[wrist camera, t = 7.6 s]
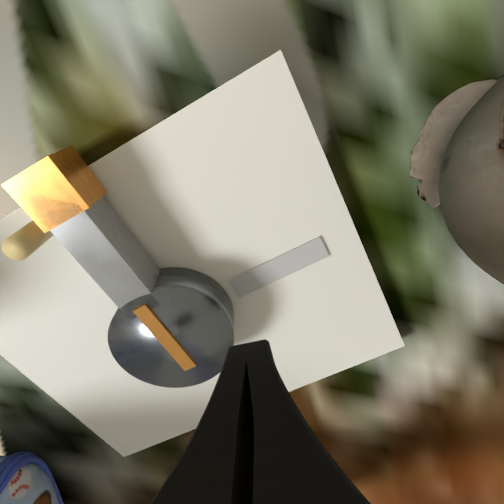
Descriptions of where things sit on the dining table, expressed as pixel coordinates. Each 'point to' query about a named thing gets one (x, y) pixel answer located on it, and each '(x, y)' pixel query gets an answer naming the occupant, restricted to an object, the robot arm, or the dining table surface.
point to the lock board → (202, 259)
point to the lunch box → (27, 480)
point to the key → (130, 278)
